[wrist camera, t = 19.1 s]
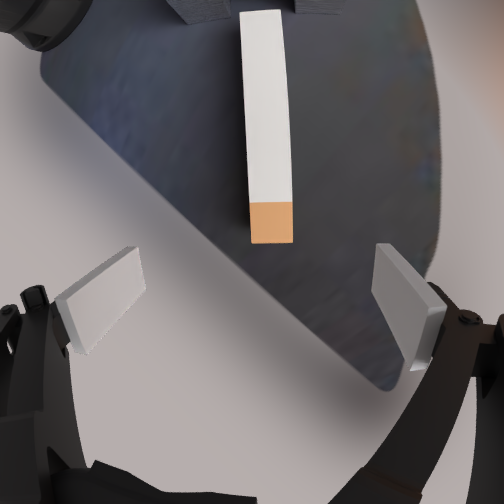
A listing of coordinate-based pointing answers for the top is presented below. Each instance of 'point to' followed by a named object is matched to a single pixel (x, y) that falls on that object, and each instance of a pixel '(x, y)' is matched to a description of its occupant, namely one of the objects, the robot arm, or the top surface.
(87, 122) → the top surface
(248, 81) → the white and orange bar
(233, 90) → the top surface
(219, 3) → the grey arch-shaped block
